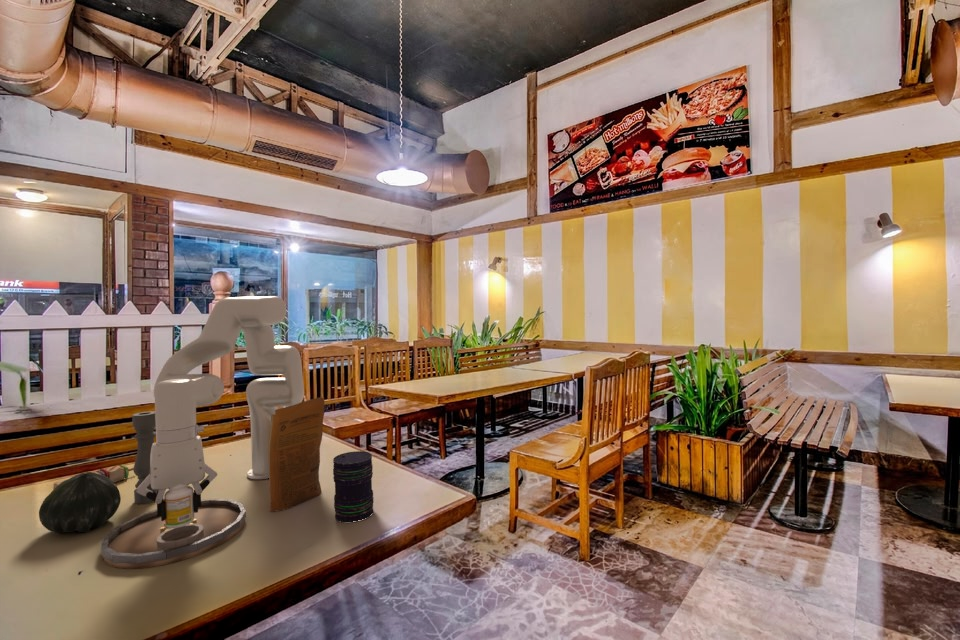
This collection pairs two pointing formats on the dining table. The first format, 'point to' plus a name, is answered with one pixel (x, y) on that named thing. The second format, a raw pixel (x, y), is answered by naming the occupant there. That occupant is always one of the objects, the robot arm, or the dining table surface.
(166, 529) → the sun gear
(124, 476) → the skewer
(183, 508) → the supplement bottle
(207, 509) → the carrier plate
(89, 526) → the squash
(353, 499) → the black ridged cylinder
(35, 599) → the dining table surface
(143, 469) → the candle holder
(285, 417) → the pancake mix bag
